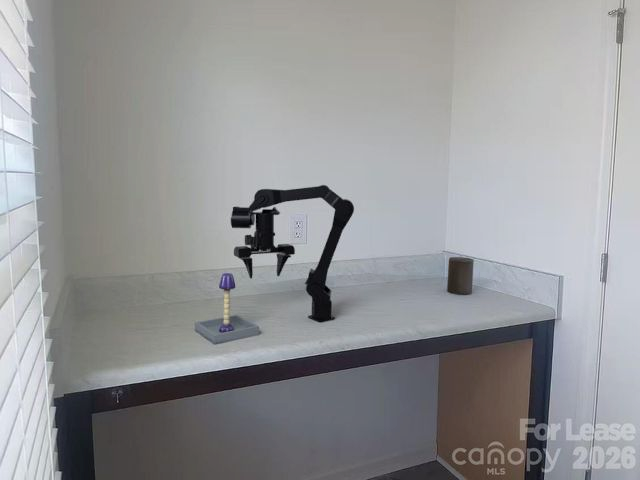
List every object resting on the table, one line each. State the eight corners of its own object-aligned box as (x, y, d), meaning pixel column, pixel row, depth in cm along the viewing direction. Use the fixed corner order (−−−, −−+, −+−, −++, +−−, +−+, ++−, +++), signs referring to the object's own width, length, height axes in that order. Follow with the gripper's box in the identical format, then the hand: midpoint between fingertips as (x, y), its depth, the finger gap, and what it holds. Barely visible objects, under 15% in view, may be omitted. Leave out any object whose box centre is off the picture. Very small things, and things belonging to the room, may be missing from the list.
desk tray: (259, 334, 131) (259, 326, 131) (214, 344, 123) (214, 335, 122) (237, 322, 142) (237, 314, 141) (194, 330, 134) (194, 322, 133)
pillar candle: (450, 294, 181) (452, 257, 179) (444, 288, 191) (446, 253, 189) (475, 295, 181) (477, 257, 179) (468, 289, 190) (470, 253, 188)
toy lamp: (224, 327, 135) (223, 271, 133) (238, 328, 134) (238, 273, 132) (216, 332, 131) (215, 275, 129) (230, 334, 129) (230, 276, 127)
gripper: (282, 225, 156) (282, 270, 158) (228, 227, 147) (229, 274, 150) (295, 228, 146) (295, 276, 148) (239, 230, 138) (239, 281, 140)
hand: (264, 277), depth 147 cm, fingers open, 9 cm apart
